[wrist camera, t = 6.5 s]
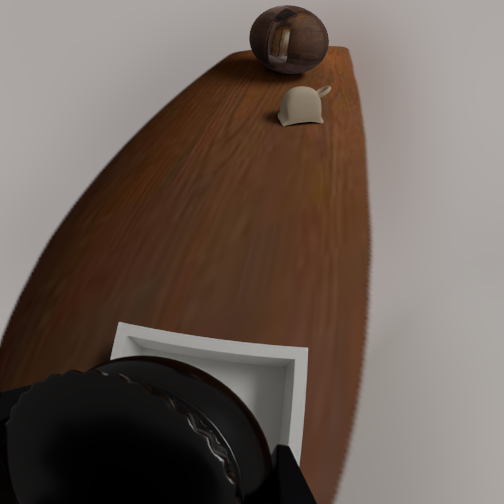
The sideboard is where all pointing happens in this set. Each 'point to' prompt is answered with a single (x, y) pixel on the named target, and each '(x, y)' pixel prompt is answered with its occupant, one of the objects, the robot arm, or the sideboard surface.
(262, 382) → the tray
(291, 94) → the beige rounded piece
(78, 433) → the supplement bottle
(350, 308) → the sideboard surface
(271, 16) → the dark glossy egg
